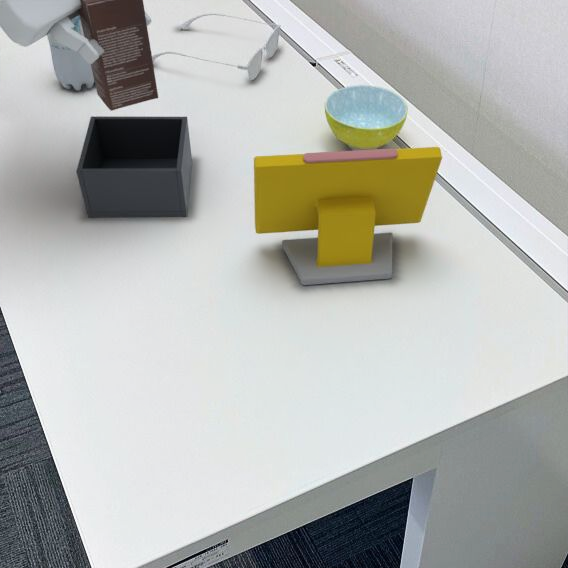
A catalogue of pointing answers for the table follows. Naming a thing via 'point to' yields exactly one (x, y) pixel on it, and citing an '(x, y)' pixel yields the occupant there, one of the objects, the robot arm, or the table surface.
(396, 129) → the bowl
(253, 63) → the eyeglasses
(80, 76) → the bottle
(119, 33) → the box
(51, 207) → the table surface
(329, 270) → the toy computer monitor
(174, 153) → the bin
